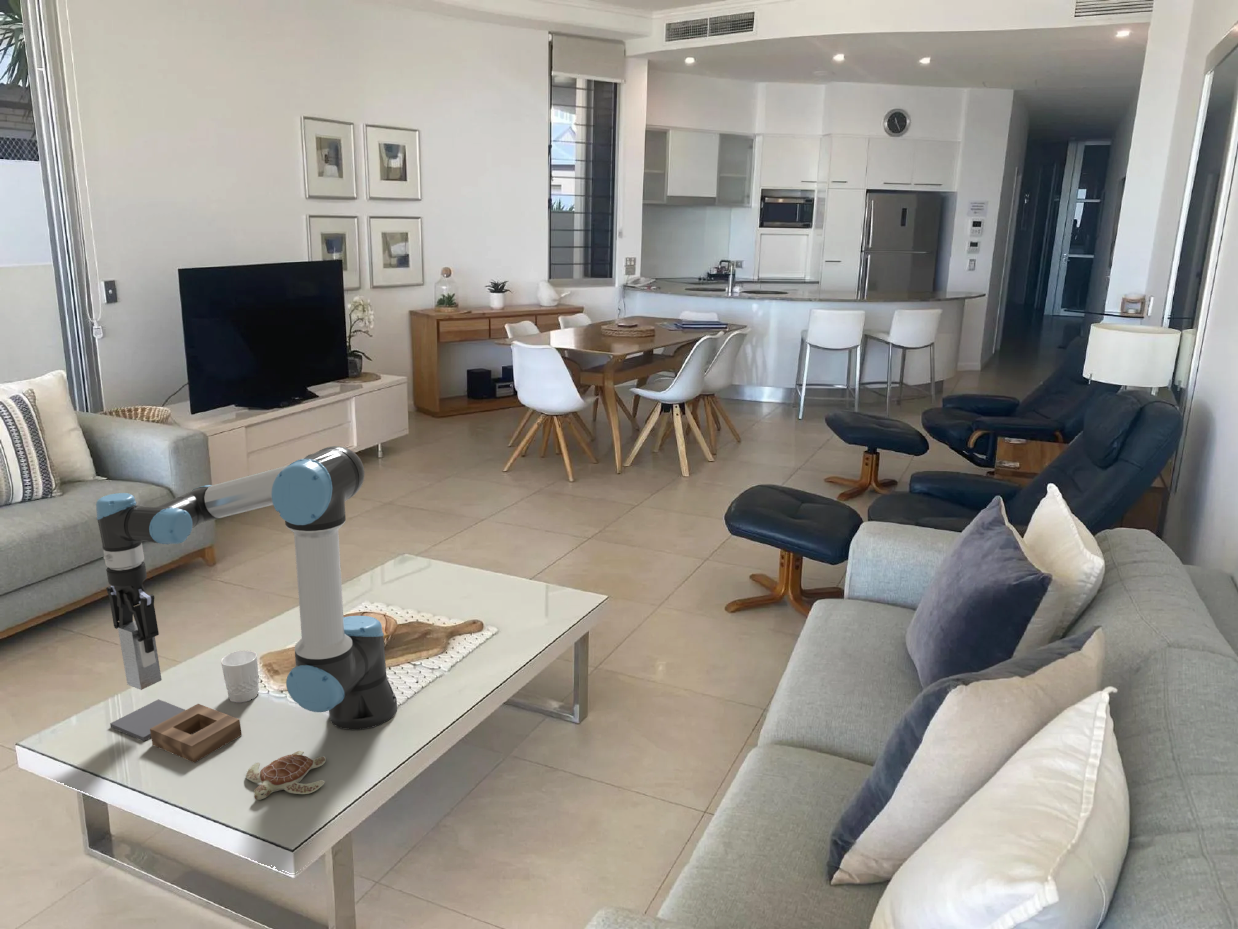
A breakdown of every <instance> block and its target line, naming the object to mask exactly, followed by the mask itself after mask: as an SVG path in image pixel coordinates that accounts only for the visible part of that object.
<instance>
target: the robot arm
mask: <svg viewBox="0 0 1238 929" xmlns="http://www.w3.org/2000/svg"><path fill="white" fill-rule="evenodd" d="M365 475H366V474H365V467H364V465H363V462H362V460H361V458H360V457H359V455H357V454H356V453H355V452H354V451H353V450H351V449H350V448H347V447H346V446H340V445H338V446H337V445H333V446H328V447H323V448H322V449H320V450H319V451H316V452H314V453H312V454H311V453H310V454H308V455H306V456H304V457H303V458H300V459H297V460H295V461H293V462H291V463H290V464H287V465H285V466H284V465H283V466H280V467H277V468H273V469H269V470H266V471H262V472H258V473H255V474H251V475H247V476H242V477H239V478H234V479H232V480H231V479H230V480H227V481H224V482H220V483H216V484H205V485H202V486H199V487H196V488H193V489H192V490H191V491H189V492H186V493H185V494H181V495H180V496H177V497H175V498H173V499H171V500H168V501H166V502H164V503H162V504H159V505H157V506H144V505H137V501H136V498H135V495H133V494H131V493H129V492H128V493H127V492H120V493H119V492H117V493H111V494H106V495H104V496H102V497H100V498H98V499H97V501H96V503H95V508H96V520H97V524H98V529H99V534H100V541H101V546H102V550H103V560H104V562H105V566H106V567H107V568H106V569H105V570H106V576H107V583H108V584H109V585H110V586H108V587H106V589H105V590H106V592H107V595H108V597H109V598H108V599H109V604H110V610H111V616H112V617H111V618H112V624H113V628H114V629H116V630H118V627H120V626H122V625H125V624H127V623H130V622H132V621H135V622H136V625H137V628H138V631H139V634H140V639H138V641H139V647H140V653H141V659H142V665H143V667H147V666H149V665H151V664H153V663H155V662H156V659H155V653H154V645H153V637H155V638H156V637H157V636H159V634H160V632H159V627H158V621H157V614H156V608H155V595H154V594H148V593H146V589H145V587H144V584H143V583H144V582H145V580H146V579H147V577H148V574H147V573H148V572H147V568H146V562H144V561H145V553H144V548H143V547H144V546H143V542H144V543H154V544H155V543H156V544H162V545H179V544H183V543H184V542H185V541H186V540H188V537H189V536H190V535H191V533H192V530H193V528H195V527H198V526H199V525H202V524H204V523H207V522H210V521H215V520H218V519H222V518H225V517H229V516H234V515H238V514H241V513H244V512H245V513H246V512H250V511H254V510H259V509H263V508H265V507H269V506H270V507H271V506H273V507H274V509H275V512H277V513H278V514H279V517H280V518H281V519H283V520H284V521H285V522H284V523H285V524H284V525H285V527H286V529H288V530H289V531H291V532H292V533H293V536H294V551H295V564H296V580H297V593H298V606H299V607H298V608H299V620H300V632H301V633H300V635H301V638H300V639H299V640H298V641H297V642H296V643H295V645H294V656H295V657H294V658H295V667H293V668H291V670H290V671H289V673H288V675H287V676H286V677H287V678H286V682H285V685H286V690H287V692H288V694H289V696H290V698H291V699H292V700H293V701H294V702H295V703H297V704H298V706H299V707H301V708H302V709H304V710H306V711H309V712H313V713H326V712H328V715H329V721H330V722H331V724H332V725H333V726H334V727H337V728H340V729H344V730H348V731H349V730H351V731H352V730H353V731H355V730H356V731H357V730H367V729H371V728H374V727H378V726H380V725H383V724H385V723H386V722H388V721H389V720H390V719H392V718H393V717H394V715H395V714H396V713H397V710H398V703H397V702H398V701H397V697H396V694H395V693H394V691H393V688H392V686H391V684H390V682H389V680H388V677H387V667H386V666H387V664H386V663H387V662H386V655H385V653H386V652H385V651H386V650H385V641H384V636H385V634H384V632H383V627H382V622H381V621H380V620H378V619H377V618H376V617H373V616H369V615H350V616H349V615H348V616H344V605H343V602H344V601H343V586H342V570H341V568H342V567H341V554H340V551H341V550H340V536H339V535H340V534H339V533H340V532H339V529H341V528H342V526H344V525H345V523H346V502H347V501H348V500H350V499H351V498H352V497H354V496H356V494H357V493H358V492H359V491H360V490H361V488H362V487H363V483H364V481H365ZM133 618H134V619H133Z"/></svg>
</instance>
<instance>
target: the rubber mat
mask: <svg viewBox="0 0 1238 929" xmlns="http://www.w3.org/2000/svg"><path fill="white" fill-rule="evenodd" d="M185 710H186V709H185V708H182V707H179V706H177V705H175V704H173V703H172V704H171V703H169V702H166V701H164V700H162V699H156V700H154V701H152V702H150V703H148V704H146V705H144V706H142V707H140V708H138V709H136V710H134V711H133V712H130V713H128V714H126V715H124V716H122V717H120V718H118V719H115V720H114V721H112V722H110V723H109V724H110V726H109V727H110V728H111V729H114V730H115V731H118V732H121V733H124V734H125V735H128V736H130V737H131V738H135V739H137V740H140V741H142V742H146V741H148V740H149V739H151V733H150V728H152V727H154V726H156V725H158V724H160V723H162V722H164V721H166V720H168V719H170V718H172V717H173V716H175V715H177V714H179V713H181V712H183V711H185ZM145 740H146V741H145Z"/></svg>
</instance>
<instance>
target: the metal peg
mask: <svg viewBox="0 0 1238 929" xmlns="http://www.w3.org/2000/svg"><path fill="white" fill-rule="evenodd" d="M117 631H118V632H117V633H118V637H119V644H120V650H121V656H122V662H123V667H124V673H125V678H126V685H128V686H130V687H132V688H135V689H137V690H140V691H142V690H144V689H146V688H148V687H150V686H153V685H155V684H156V683H159V682H161V681H162V680H163V679H162V673H161V668H160V667H161V666H160V661H159V654H158V649H157V648H158V647H157V642H156V636H155V637H153V645H154V653H155V659H156V662H155V663H153V664H151V665H149V666H147V667H143V665H142V659H141V653H140V647H139V641H138V639H140V634H139V631H138V628H137V625H136V622H135V620H133V621H132V622H130V623H127V624H125V625H122V626H120V627H118V628H117Z"/></svg>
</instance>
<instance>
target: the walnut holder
mask: <svg viewBox="0 0 1238 929" xmlns="http://www.w3.org/2000/svg"><path fill="white" fill-rule="evenodd" d="M150 733H151V738H150V739H151V744H152V746H154V747H156V748H158V749H161V750H164V751H165V750H166V751H165V752H168V753H170V754H172V753H173V754H172V755H175V756H178V757H179V756H180V758H182V759H184V760H187V761H188V762H191V763H194V764H195V763H196V762H199V761H200V760H202V759H203V758H206V757H207V756H209V755H210V754H212V753H214V752H215V751H218V750H219V749H222V747H224V746H226V745H228V744H229V743H231V742H233V741H235V740H236V739H238V738H240V737H241V736H243V734H242V727H241V719H240V718H237V717H234V716H233V715H232V716H231V715H229V714H226V713H224V712H221V711H219V710H216V709H213V708H211V707H208V706H206V705H203V704H200V703H197V704H194V705H193V706H191V707H189V708H187V709H185V711H183V712H181V713H179V714H177V715H175V716H173V717H172V718H170V719H168V720H166V721H164V722H162V723H160V724H158V725H156V726H154V727H152V728H150Z"/></svg>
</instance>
